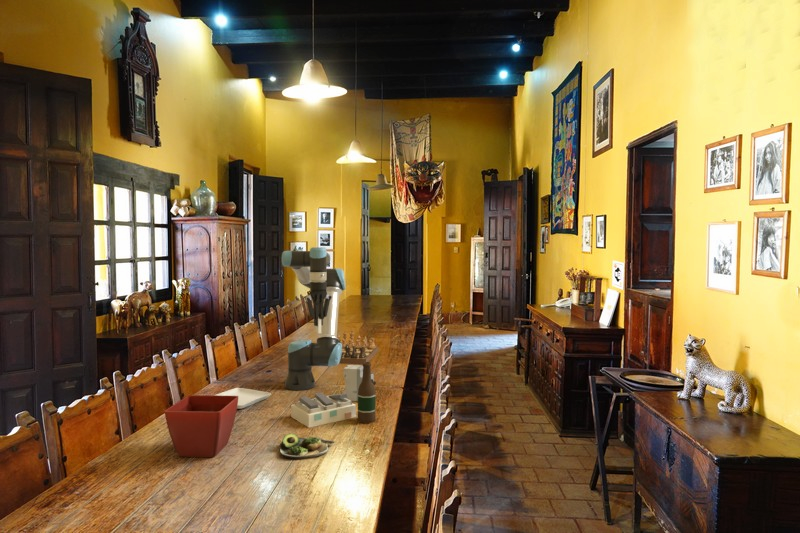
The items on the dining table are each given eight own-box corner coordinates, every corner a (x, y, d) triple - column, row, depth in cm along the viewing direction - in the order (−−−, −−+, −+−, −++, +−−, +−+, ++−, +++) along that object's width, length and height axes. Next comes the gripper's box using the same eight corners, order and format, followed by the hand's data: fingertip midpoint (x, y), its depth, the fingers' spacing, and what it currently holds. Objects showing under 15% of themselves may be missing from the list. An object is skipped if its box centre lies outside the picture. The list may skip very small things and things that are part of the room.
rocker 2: (314, 396, 222) (315, 393, 222) (321, 395, 224) (321, 392, 223) (326, 407, 214) (326, 404, 214) (332, 406, 216) (333, 402, 216)
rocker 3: (329, 399, 226) (328, 395, 226) (335, 398, 228) (335, 394, 228) (340, 399, 218) (340, 395, 219) (347, 397, 220) (346, 393, 221)
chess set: (321, 349, 359) (321, 328, 358) (378, 351, 353) (378, 329, 352) (301, 362, 319) (301, 338, 319) (365, 365, 314) (366, 340, 313)
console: (291, 416, 219) (291, 401, 219) (336, 407, 232) (336, 392, 232) (309, 427, 206) (309, 411, 206) (356, 416, 219) (356, 401, 219)
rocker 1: (299, 401, 218) (299, 397, 217) (306, 399, 220) (306, 396, 219) (310, 409, 210) (310, 405, 210) (317, 408, 212) (318, 404, 212)
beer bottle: (378, 418, 218) (379, 361, 217) (371, 424, 210) (372, 365, 209) (361, 416, 220) (361, 359, 219) (354, 422, 213) (354, 363, 212)
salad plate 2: (332, 438, 196) (332, 426, 196) (337, 457, 179) (337, 444, 179) (279, 442, 192) (279, 430, 192) (279, 462, 175) (279, 449, 174)
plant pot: (188, 439, 193) (188, 394, 193) (239, 440, 193) (239, 395, 192) (163, 460, 174) (163, 411, 174) (220, 462, 174) (219, 412, 173)
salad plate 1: (272, 399, 244) (272, 392, 244) (241, 412, 225) (241, 404, 225) (237, 393, 253) (237, 386, 253) (204, 406, 234) (204, 398, 234)
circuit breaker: (372, 402, 239) (373, 370, 239) (343, 400, 242) (343, 368, 242) (376, 397, 247) (377, 366, 246) (347, 395, 250) (348, 364, 249)
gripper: (309, 282, 230) (309, 335, 232) (335, 281, 238) (335, 332, 240) (301, 281, 236) (301, 333, 237) (326, 280, 244) (326, 330, 245)
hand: (318, 332), depth 238 cm, fingers closed
